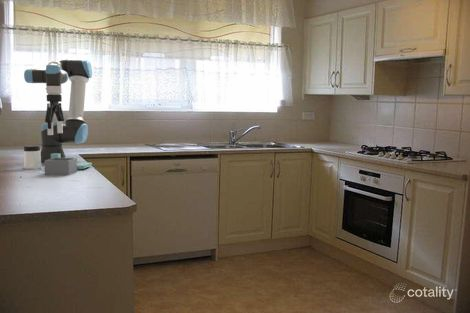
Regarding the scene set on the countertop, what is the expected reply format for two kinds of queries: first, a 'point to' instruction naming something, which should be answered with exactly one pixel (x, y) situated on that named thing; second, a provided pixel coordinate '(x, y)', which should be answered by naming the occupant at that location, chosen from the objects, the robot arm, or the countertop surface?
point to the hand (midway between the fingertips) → (55, 134)
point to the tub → (60, 166)
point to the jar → (32, 157)
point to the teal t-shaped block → (79, 165)
